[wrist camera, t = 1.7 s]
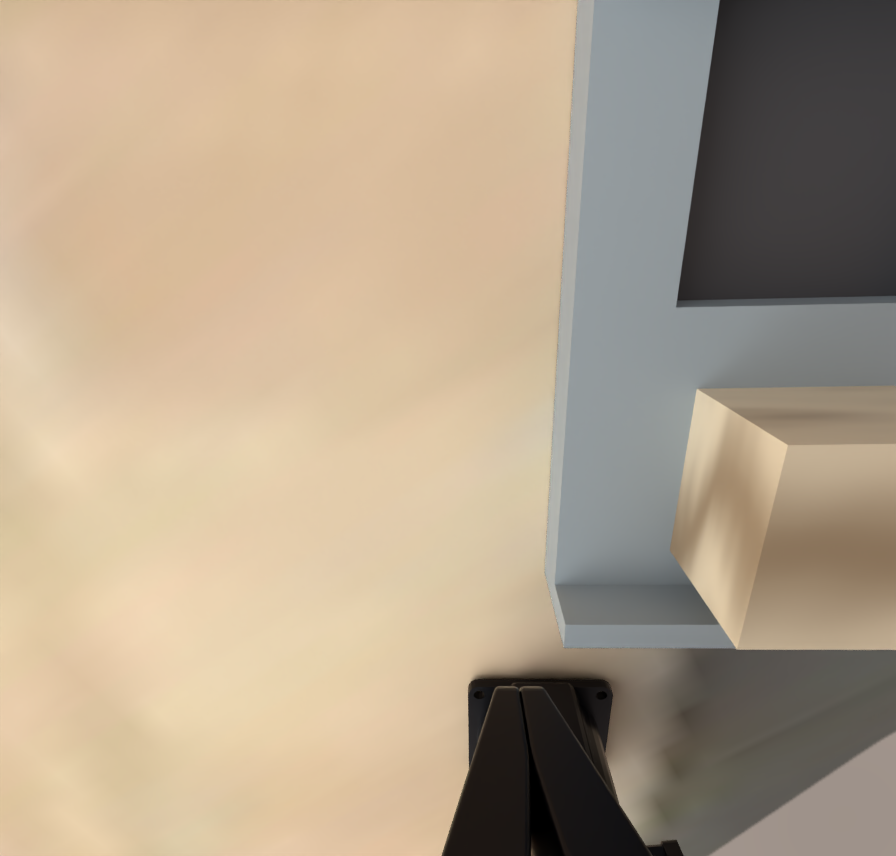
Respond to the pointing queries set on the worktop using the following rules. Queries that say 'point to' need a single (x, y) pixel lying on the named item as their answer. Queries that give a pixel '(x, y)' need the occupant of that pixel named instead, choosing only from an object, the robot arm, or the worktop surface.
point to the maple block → (792, 515)
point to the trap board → (706, 268)
